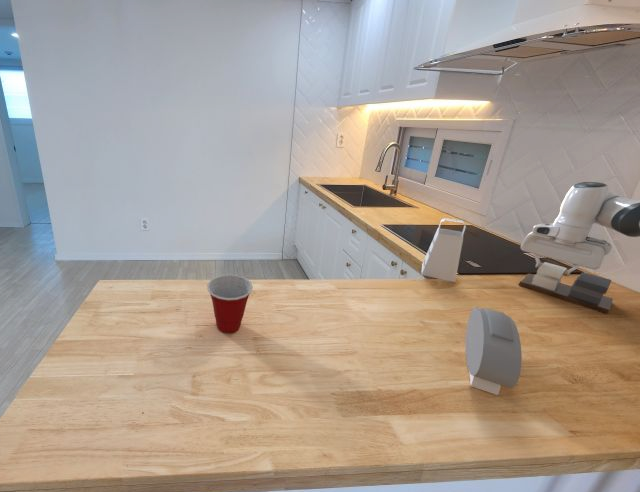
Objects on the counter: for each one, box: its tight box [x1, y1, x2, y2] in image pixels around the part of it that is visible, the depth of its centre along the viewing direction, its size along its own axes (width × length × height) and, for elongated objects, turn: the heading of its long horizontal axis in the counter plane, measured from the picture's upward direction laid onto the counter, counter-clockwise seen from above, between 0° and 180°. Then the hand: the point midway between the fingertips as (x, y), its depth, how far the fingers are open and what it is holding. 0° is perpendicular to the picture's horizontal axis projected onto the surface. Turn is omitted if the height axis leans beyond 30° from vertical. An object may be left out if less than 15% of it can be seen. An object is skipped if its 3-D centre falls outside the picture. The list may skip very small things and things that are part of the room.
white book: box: [536, 261, 568, 279], centre depth 113 cm, size 6×10×2 cm, turn 130°
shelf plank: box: [518, 273, 614, 314], centre depth 112 cm, size 22×12×2 cm, turn 40°
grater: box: [421, 217, 467, 283], centre depth 118 cm, size 10×10×20 cm
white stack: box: [532, 272, 563, 291], centre depth 115 cm, size 6×10×3 cm, turn 130°
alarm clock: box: [464, 306, 523, 396], centre depth 73 cm, size 23×6×13 cm, turn 151°
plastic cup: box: [206, 274, 254, 334], centre depth 81 cm, size 11×11×12 cm
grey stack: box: [568, 271, 612, 305], centre depth 107 cm, size 7×10×6 cm
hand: (551, 271), depth 114 cm, fingers closed on white book, 6 cm apart
